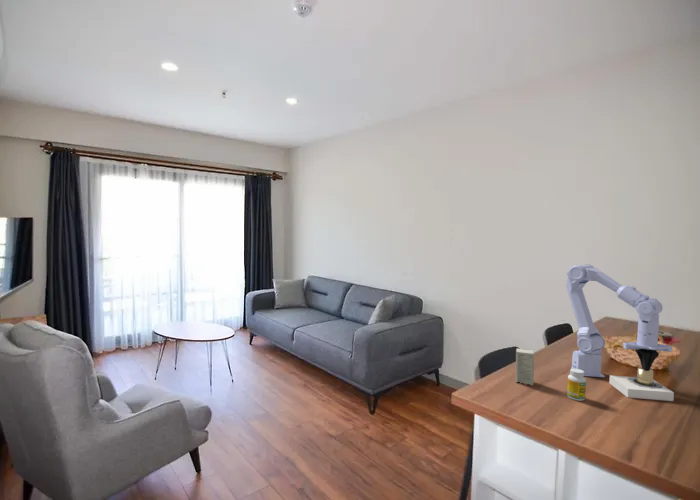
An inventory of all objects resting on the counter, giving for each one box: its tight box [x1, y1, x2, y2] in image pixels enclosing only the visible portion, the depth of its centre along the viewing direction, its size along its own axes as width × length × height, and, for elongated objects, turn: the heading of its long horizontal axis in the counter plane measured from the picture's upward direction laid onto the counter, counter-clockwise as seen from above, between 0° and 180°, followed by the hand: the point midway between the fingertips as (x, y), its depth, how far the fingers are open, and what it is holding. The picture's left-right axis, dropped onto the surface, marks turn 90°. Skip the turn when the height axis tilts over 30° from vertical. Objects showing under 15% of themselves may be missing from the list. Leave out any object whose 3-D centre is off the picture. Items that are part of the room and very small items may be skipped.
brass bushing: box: [636, 366, 654, 387], centre depth 131 cm, size 4×4×8 cm
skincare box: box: [515, 348, 535, 386], centre depth 138 cm, size 6×4×12 cm
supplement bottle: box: [566, 368, 587, 402], centre depth 125 cm, size 5×5×10 cm
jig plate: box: [609, 374, 675, 402], centre depth 131 cm, size 14×12×3 cm
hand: (645, 369), depth 131 cm, fingers closed, pressing on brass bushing
